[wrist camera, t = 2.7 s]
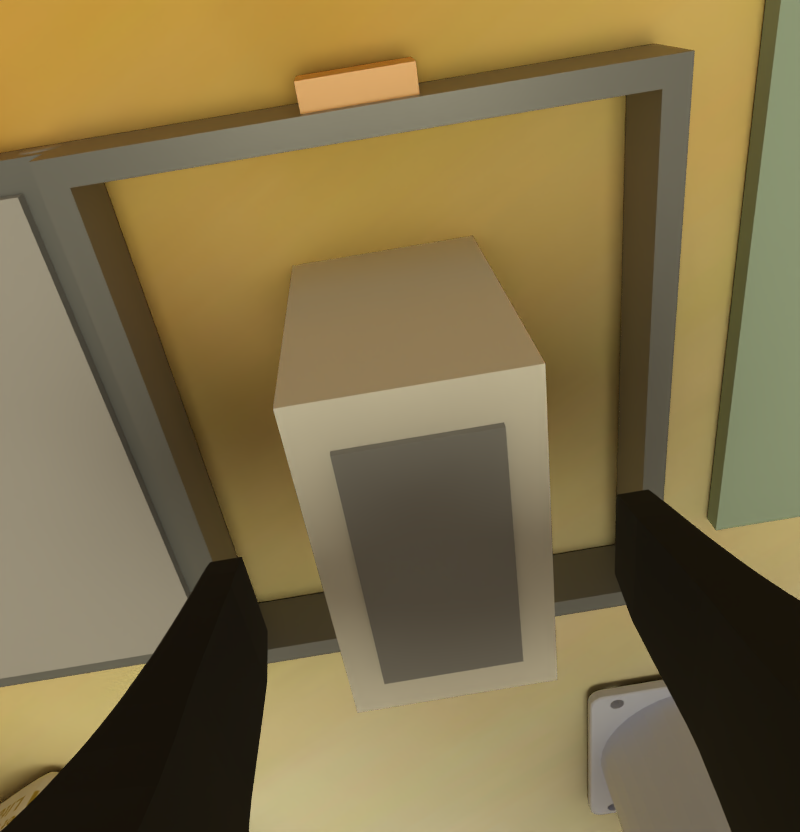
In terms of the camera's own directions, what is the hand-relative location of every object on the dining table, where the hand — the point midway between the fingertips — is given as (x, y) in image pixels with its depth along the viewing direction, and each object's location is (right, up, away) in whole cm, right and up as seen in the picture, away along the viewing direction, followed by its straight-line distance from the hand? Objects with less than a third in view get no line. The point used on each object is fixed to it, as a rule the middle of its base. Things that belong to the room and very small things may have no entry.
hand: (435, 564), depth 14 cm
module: (-1, +4, +6) cm, 7 cm away
